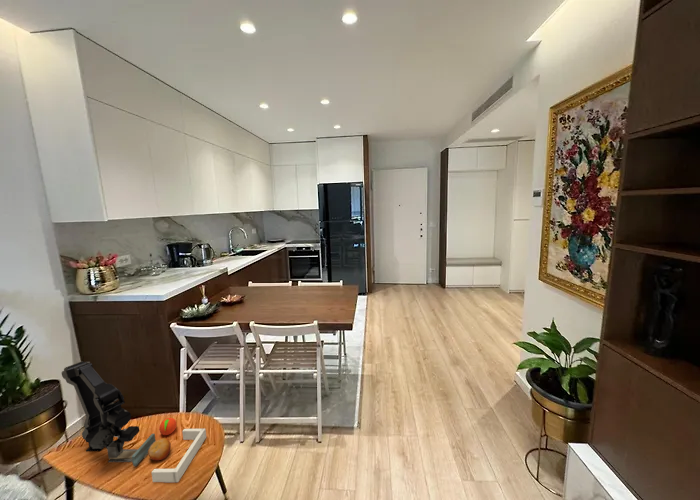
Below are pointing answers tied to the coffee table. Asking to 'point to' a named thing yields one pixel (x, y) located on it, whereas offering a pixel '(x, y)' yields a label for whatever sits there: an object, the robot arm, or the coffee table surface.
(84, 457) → the coffee table surface
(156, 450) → the fruit
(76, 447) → the coffee table surface
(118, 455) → the kicker
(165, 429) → the clementine
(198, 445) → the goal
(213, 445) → the coffee table surface
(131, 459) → the track
